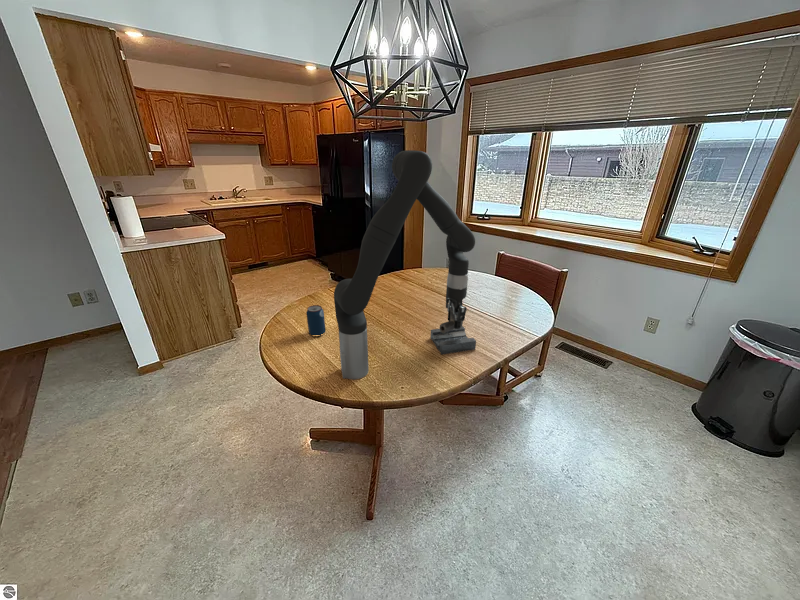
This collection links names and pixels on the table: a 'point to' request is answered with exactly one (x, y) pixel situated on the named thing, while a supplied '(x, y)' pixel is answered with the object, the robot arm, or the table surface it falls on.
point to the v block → (452, 341)
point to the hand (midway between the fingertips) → (453, 324)
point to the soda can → (315, 320)
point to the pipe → (449, 323)
